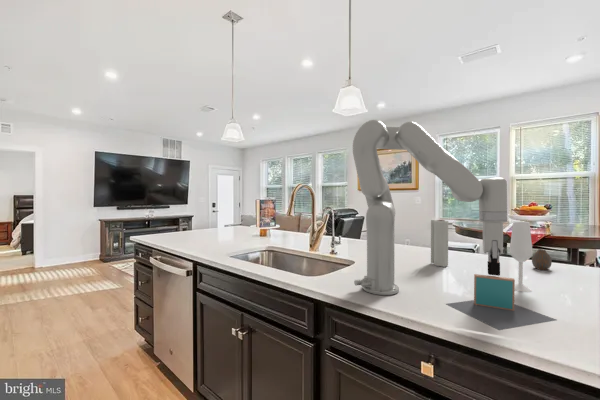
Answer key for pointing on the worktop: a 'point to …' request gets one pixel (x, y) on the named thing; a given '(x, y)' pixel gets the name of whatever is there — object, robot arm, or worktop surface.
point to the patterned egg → (541, 260)
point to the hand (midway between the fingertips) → (493, 274)
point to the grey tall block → (439, 242)
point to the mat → (501, 315)
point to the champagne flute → (521, 249)
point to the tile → (494, 291)
